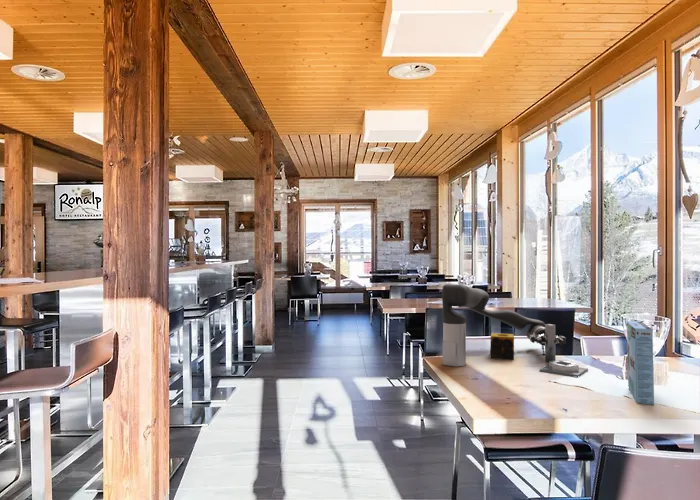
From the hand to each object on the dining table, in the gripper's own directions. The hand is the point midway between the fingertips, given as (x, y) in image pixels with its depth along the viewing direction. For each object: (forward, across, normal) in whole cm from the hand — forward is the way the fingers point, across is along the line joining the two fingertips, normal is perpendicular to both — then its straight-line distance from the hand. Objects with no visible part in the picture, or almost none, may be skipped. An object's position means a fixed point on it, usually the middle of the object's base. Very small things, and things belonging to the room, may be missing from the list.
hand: (551, 342), depth 198 cm
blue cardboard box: (+44, +17, +9) cm, 48 cm away
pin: (-2, 0, +9) cm, 9 cm away
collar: (+13, +2, +9) cm, 16 cm away
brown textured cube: (-9, -19, +9) cm, 23 cm away
